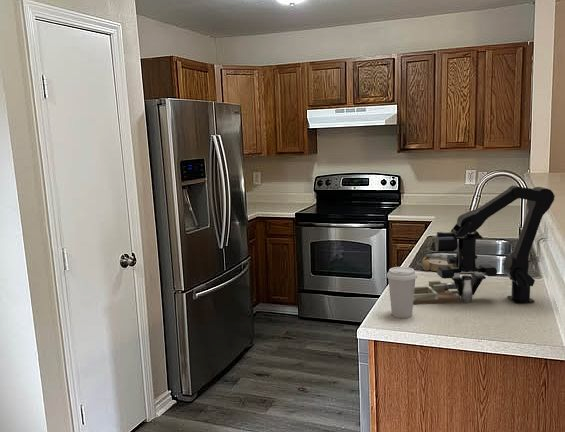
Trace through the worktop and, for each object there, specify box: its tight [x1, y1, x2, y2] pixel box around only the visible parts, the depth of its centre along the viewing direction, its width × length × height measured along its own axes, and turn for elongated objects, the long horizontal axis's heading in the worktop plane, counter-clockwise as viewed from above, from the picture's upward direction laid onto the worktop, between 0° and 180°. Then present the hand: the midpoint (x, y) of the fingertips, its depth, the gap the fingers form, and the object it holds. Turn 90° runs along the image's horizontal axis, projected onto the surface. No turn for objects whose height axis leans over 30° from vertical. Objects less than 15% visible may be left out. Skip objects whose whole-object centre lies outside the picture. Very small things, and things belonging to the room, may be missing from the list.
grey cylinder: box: [459, 274, 474, 304], centre depth 176 cm, size 4×4×9 cm
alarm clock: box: [416, 256, 455, 272], centre depth 219 cm, size 11×5×15 cm
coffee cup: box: [386, 266, 418, 319], centre depth 165 cm, size 10×10×15 cm
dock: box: [413, 280, 460, 306], centre depth 182 cm, size 14×16×4 cm
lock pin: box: [439, 282, 457, 290], centre depth 186 cm, size 4×9×4 cm, turn 91°
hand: (466, 295), depth 176 cm, fingers closed on grey cylinder, 4 cm apart
